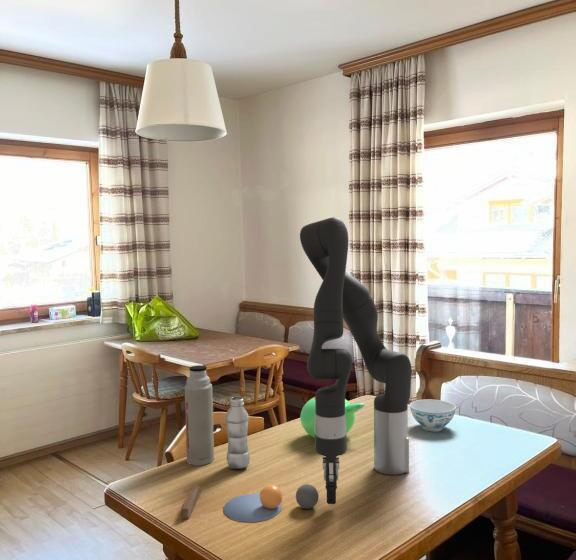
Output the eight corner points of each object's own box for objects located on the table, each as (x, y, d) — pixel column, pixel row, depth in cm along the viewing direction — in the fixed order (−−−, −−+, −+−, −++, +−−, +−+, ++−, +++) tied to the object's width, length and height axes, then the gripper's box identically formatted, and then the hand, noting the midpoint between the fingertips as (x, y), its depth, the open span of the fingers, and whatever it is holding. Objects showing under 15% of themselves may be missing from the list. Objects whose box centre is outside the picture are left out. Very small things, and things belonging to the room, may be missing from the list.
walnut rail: (199, 495, 144) (199, 486, 144) (188, 519, 132) (188, 508, 132) (193, 495, 144) (193, 486, 144) (182, 519, 132) (181, 508, 132)
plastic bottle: (246, 472, 158) (245, 402, 156) (223, 471, 159) (221, 401, 157) (252, 463, 164) (251, 395, 162) (230, 462, 165) (228, 394, 164)
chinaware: (461, 435, 184) (461, 412, 183) (414, 436, 184) (414, 412, 184) (448, 420, 199) (448, 399, 198) (405, 421, 199) (405, 399, 199)
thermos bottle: (185, 466, 163) (182, 370, 161) (188, 455, 171) (185, 364, 169) (213, 464, 164) (210, 369, 161) (214, 454, 171) (212, 363, 169)
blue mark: (283, 494, 144) (283, 494, 144) (279, 522, 130) (279, 521, 130) (228, 494, 145) (228, 493, 144) (218, 521, 131) (218, 520, 131)
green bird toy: (336, 425, 196) (335, 383, 194) (367, 440, 181) (367, 395, 180) (291, 435, 186) (291, 392, 185) (320, 452, 172) (320, 404, 171)
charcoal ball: (300, 478, 140) (293, 499, 140) (299, 485, 134) (291, 507, 134) (322, 485, 139) (314, 507, 139) (321, 493, 134) (313, 515, 134)
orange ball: (286, 485, 139) (264, 477, 139) (284, 494, 134) (262, 487, 134) (279, 505, 140) (258, 498, 140) (277, 516, 134) (255, 508, 134)
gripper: (347, 442, 128) (348, 516, 129) (345, 423, 141) (345, 490, 142) (314, 442, 128) (315, 516, 129) (315, 422, 141) (315, 490, 143)
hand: (331, 502), depth 136 cm, fingers closed
